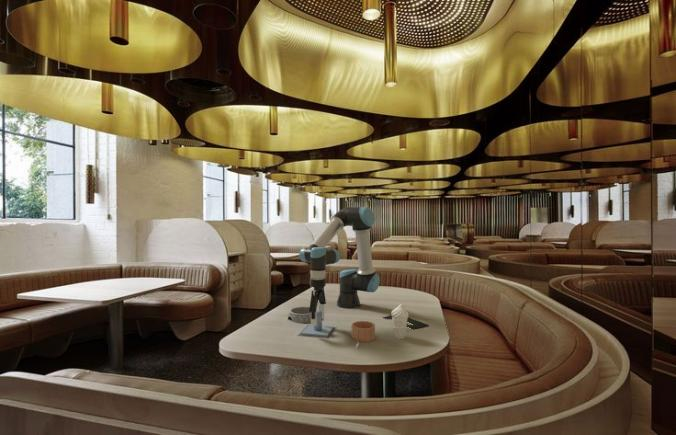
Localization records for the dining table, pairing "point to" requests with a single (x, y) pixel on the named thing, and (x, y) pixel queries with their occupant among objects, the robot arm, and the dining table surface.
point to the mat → (317, 336)
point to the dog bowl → (300, 314)
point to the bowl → (363, 331)
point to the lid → (318, 328)
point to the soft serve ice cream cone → (399, 321)
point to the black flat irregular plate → (415, 323)
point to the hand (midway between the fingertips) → (317, 320)
